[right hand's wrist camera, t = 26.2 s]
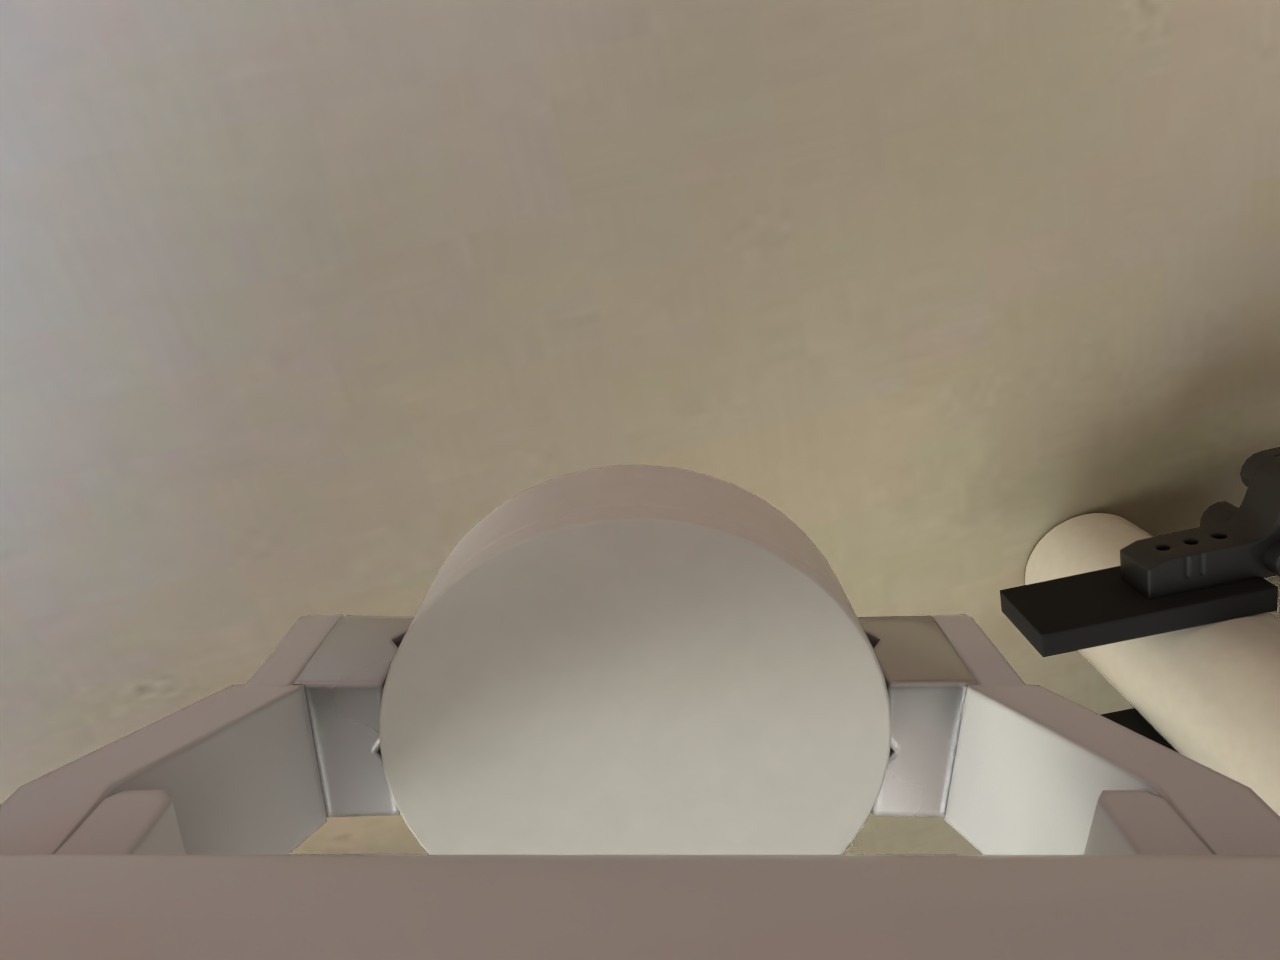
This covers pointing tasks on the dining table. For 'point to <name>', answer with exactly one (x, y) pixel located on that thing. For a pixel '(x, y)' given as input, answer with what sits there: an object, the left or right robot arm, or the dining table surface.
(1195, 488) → the dining table surface
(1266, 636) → the beige cylinder
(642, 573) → the lid
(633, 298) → the dining table surface
